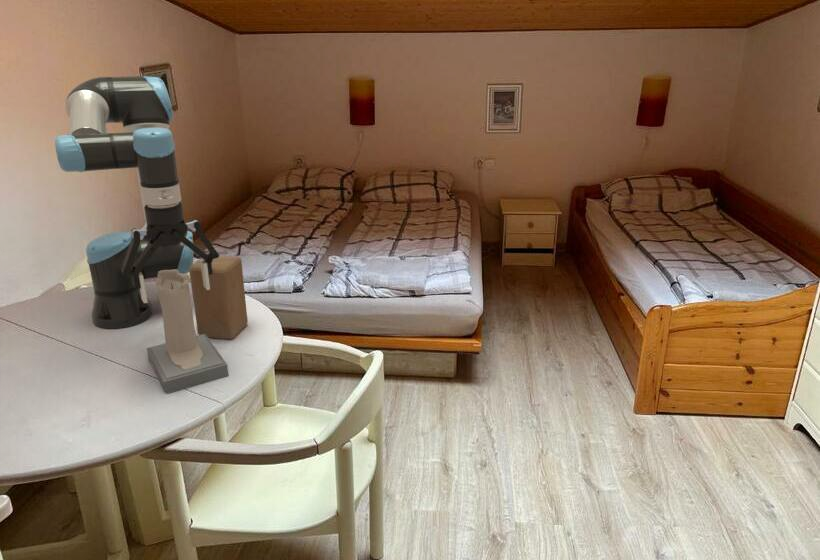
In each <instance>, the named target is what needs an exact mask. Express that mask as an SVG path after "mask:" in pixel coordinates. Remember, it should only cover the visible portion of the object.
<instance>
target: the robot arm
mask: <svg viewBox="0 0 820 560" xmlns="http://www.w3.org/2000/svg"><path fill="white" fill-rule="evenodd" d="M172 107H173V106H172V101H171V99H170V95H169V91H168V89H167V86H166V84H165V82H164V81H163V79H161V78H160V77H158V76H145V75H142V76H141V75H140V76H139V75H138V76H99V77H94V78H90V79H88V80H85V81H83V82H82V83H80V84H78V85H77V86H75V87H74V88H73V89H72V90H71V91H70V92H69V93H68V95H67V97H66V102H65V111H66V114H67V116H68V118H69V125H68V126H69V127H68V133H67V134H65V135H59V136H56V137H55V139H54V143H55V144H54V145H55V147H54V148H55V153H56V156H57V161H58V164H59V165H58V166H60V169H61V170H62V171H64V172H67V173H69V172H70V173H72V172H75V173H76V172H79V173H85V172H92V171H104V170H105V171H106V170H107V171H108V170H117V169H120V170H121V169H122V170H123V169H134V168H135V169H136V174H137V175H136V176H137V180H138V186H139V192H140V198H141V204H142V210H143V211H142V212H143V216H144V217H143V218H144V221H145V222H144V225H143V226H142V228H141V229H138V228H136V227H133V228H131V232H128V231H117V232H110V233H107V234H104V235H102V236H99V237H96V238H94V239H93V240H91V241H90V242H89V243H88V244H87V245H86V248H85V249H86V250H85V251H86V257H87V259H86V263H87V264H88V267H89V272H90V277H91V280H92V281H91V282H92V286H93V287H92V288H93V291H94V298H93V299H94V300H93V306H92V312H91V317H92V323H93V324H94V325H95V326H97V327H98V328H102V329H121V328H127V327H132V326H135V325H138V324H141V323H143V322H145V321H147V320H148V319H149V318H150V317H152V315H153V307H152V303H151V301H150V300H149V298H148V296H147V291H146V284H145V280H150V279H157V277H158V272H159V271H161V270H173V269H176V270H178V271H179V273H182V274H188V273H189V268H190V266H191V265H193V264H194V253H195V254H196V255H198V256H199V257H200V259H202V258H203V259H204V260H200V259H199V260H200V262H201V270H202V278H203V285H204V287H205V288H206V290H210V284H209V276H208V275H211V274H212V264H211V263H212V260H213V259H215V258H218V257H219V255H220V254H219V253H218V251H217V250H216V249H215V248H214V246H213V244H212V243H211V241H210V240H209V239H208V237H207V236H206V235H205V233H204V232H203V230H202V225H201V223H200V222H199V221H198V220H197V219H192V221H189V222H185V216H184V209H183V204H182V203H181V201H182V195H181V190H180V189H181V188H180V181H179V176H178V174H179V173H178V167H177V160H176V159H177V158H176V150H175V148H176V144H175V143H174V142H175V141H174V138H173V133H172V131H171V130H170V127H171V126H170V122H172V121H174V120H175V117H174V116H175V115H174V111H173V108H172ZM109 123H111V124H112V123H114V124H117V123H122V128H123V130H124V131H125V132H112V133H109V132H108V133H107V124H109ZM189 230H191V231H189ZM193 232H194V233H195V234H196V236H197V237H198V238H199V240H200V241H201V242H202V244H203V245H204V246H205V248H206V249H207V250H208V252H209V253H206V252H205V251H203V249H201V248H200V247H199V246H198V245H196V244H195V243H194V238H193Z"/></svg>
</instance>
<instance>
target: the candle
mask: <svg viewBox="0 0 820 560" xmlns="http://www.w3.org/2000/svg"><path fill="white" fill-rule="evenodd" d="M155 285H156V286H155V287H156V290H157V292H156V293H157V295H158V299H159V303H160V308H161V313H162V323H163V331H164V340H165V343H166V348H167V353H168V354H169V356H170V359H171V361H172V362H173V363H174V364H175V365H177V366H181V367H182V369H188V368H193V367H196V366H198V365H200V364H201V361H200V360H201V359H202V357H203V352H202V350H201V349H200V347H199V344H198V339H197V335H198V334H197V331H196V328H195V322H194V312H193V301H192V297H191V290H190V286H189V285H190V284H189V278H188V275H187V274H186V273H184V274H182V273H179V271H178V270H176V269H173V270H161V271H159V272H158V277H157V278H156V280H155Z"/></svg>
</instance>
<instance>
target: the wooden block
mask: <svg viewBox="0 0 820 560" xmlns="http://www.w3.org/2000/svg"><path fill="white" fill-rule="evenodd" d="M200 260H204V259H203V258H200V259H198V260H196V262H193V265H191V266H190V268H189V272H188V273H189V278H190V279H189V280H190V284H191V285H190V286H191V293H192V299H193V301H192V302H193V306H194V307H193V308H194V313H195V315H194V316H195V320H196V321H195V323H196V329H197V335H201V334H206V336H207V337H208V338H213V339H221V340H233V339H234V338H235V337H236V336H237V335H239V333H240V332H242V330H243V329H245V327H246V326H247V325H248V321H249V320H248V314H247V313H248V312H247V303H246V293H245V284H244V283H245V282H244V274H243V264H242V262H243V261H242V258H241V257H240V256H229V255H220V254H219V257H218V258H215V259H213V260H212V263H211V264H212V274H211V275H208V276H209V284H210V290H206V288H205V287H204V285H203V278H202V270H201V262H200Z"/></svg>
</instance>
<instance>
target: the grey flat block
mask: <svg viewBox="0 0 820 560" xmlns="http://www.w3.org/2000/svg"><path fill="white" fill-rule="evenodd" d="M196 335H197V339H198V344H199V347H200V349H201V350H202V352H203V357H202V359H201V360H200V361H201V364H200V365H198V366H196V367H193V368H188V369H182V367H181V366H177V365H175V364H174V363H173V362H172V361H171V359H170V356H169V354H168V353H167V348H166V342H165V343H161V344H158V345H153V346H149V347H146V353H147V358H148V360H149V363H150V364H151V366H152V368H153V371H154V373H155V374H156V377H157V378H158V380H159V383H160V385H161V388H162V389H163V391H164V393H165V394H170V393H174V392H176V391H180V390H184V389H187V388H190V387H193V386H194V387H195V386H197V385H201V384H205V383H209V382H212V381H215V380H219V379H222V378H225V377H229V367H228V363H227V362H226V361H225V359H224V358H223V356H222V355H221V353H220V352H219V351H218V349H217V348H216V346H215V345H214V344H213V342H212V341H211V340H210V337H207V336H206V334H201V335H199V334H196Z"/></svg>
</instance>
